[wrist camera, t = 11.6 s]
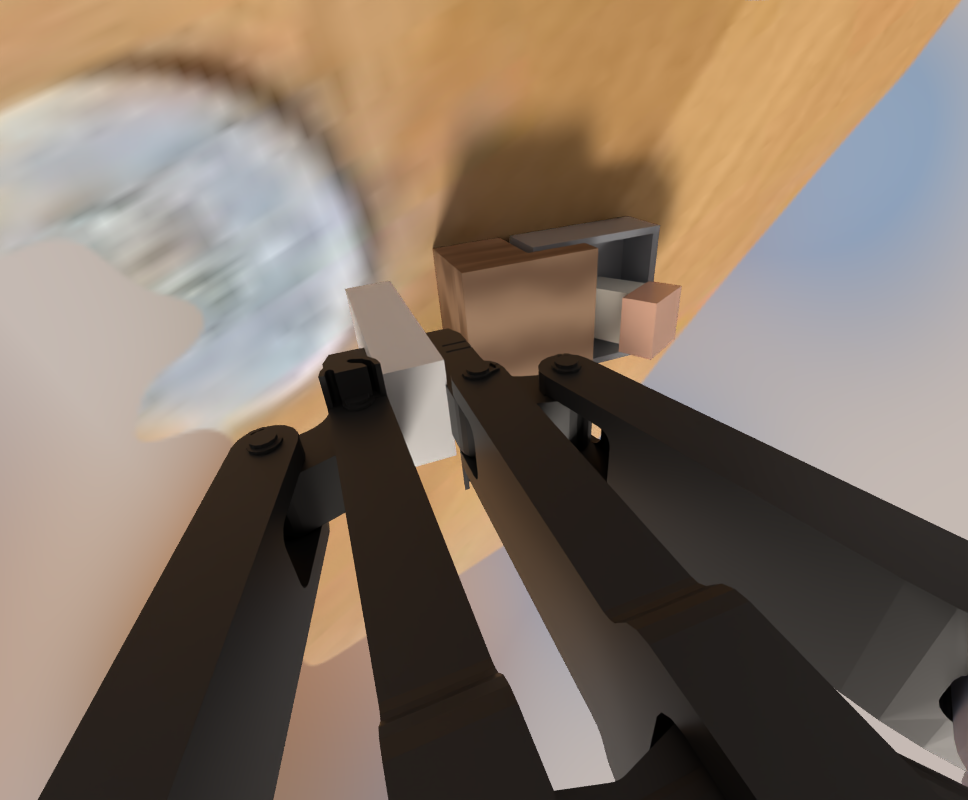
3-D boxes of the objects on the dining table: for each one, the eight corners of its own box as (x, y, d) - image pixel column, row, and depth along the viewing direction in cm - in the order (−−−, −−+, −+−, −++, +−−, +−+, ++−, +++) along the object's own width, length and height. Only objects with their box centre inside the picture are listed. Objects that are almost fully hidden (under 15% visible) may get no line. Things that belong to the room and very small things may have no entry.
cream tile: (633, 294, 42) (648, 283, 44) (582, 286, 45) (599, 276, 47) (629, 346, 45) (644, 333, 46) (582, 335, 48) (597, 324, 49)
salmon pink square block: (622, 297, 41) (656, 303, 39) (648, 281, 44) (681, 285, 42) (618, 351, 43) (650, 359, 41) (643, 332, 46) (674, 338, 44)
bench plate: (432, 248, 41) (461, 273, 34) (550, 228, 43) (598, 248, 37) (450, 391, 48) (477, 434, 41) (550, 366, 51) (590, 403, 44)
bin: (509, 235, 42) (532, 247, 38) (627, 216, 45) (659, 225, 41) (515, 358, 49) (535, 378, 45) (618, 333, 52) (645, 351, 48)
